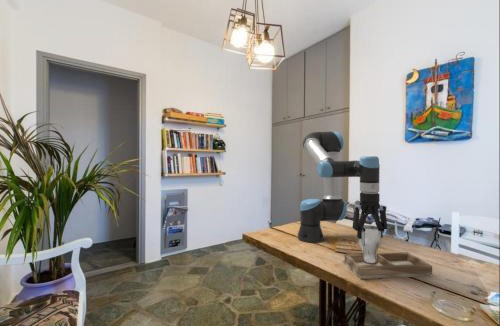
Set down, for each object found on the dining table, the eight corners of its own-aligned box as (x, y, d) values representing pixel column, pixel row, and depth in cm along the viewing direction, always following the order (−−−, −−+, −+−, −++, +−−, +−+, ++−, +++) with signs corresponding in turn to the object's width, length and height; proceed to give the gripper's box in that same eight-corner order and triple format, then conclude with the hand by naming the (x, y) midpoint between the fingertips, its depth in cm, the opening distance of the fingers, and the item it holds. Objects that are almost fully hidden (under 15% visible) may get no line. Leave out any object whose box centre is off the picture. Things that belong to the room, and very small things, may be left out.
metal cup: (369, 257, 107) (369, 224, 107) (383, 263, 101) (383, 228, 101) (357, 260, 105) (357, 226, 105) (370, 266, 98) (370, 230, 98)
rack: (344, 263, 110) (344, 254, 109) (407, 261, 111) (407, 252, 111) (360, 279, 96) (360, 268, 96) (432, 275, 97) (432, 265, 97)
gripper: (351, 194, 98) (351, 250, 98) (397, 193, 99) (397, 248, 100) (343, 191, 106) (343, 243, 106) (386, 190, 107) (386, 241, 107)
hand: (369, 245), depth 103 cm, fingers closed on metal cup, 7 cm apart
